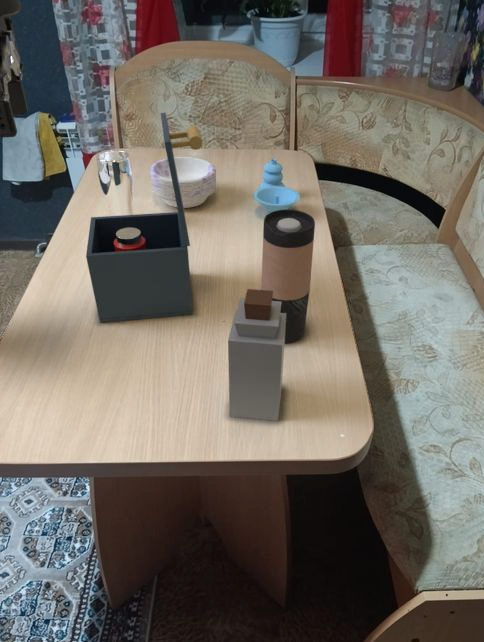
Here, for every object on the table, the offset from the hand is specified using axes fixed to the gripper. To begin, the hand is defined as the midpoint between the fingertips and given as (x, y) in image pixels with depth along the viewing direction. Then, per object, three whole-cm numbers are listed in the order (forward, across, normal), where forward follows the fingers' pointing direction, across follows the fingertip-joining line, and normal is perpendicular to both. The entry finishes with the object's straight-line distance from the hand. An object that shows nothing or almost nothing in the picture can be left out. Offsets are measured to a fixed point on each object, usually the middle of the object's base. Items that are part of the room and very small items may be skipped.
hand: (13, 124), depth 65 cm
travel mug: (+34, +2, +34) cm, 49 cm away
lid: (+13, -12, +19) cm, 26 cm away
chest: (+34, -12, +12) cm, 38 cm away
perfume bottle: (+34, +17, +27) cm, 47 cm away
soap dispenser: (+34, -46, +43) cm, 71 cm away
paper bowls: (+34, -53, +22) cm, 67 cm away
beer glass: (+34, -42, +8) cm, 55 cm away
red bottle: (+33, -12, +11) cm, 37 cm away
